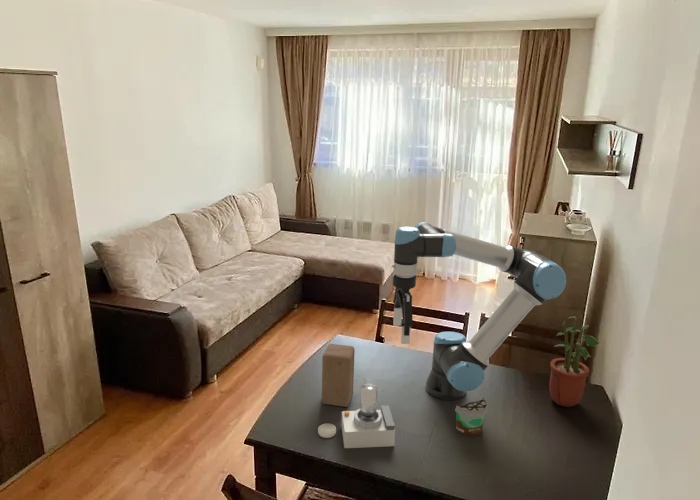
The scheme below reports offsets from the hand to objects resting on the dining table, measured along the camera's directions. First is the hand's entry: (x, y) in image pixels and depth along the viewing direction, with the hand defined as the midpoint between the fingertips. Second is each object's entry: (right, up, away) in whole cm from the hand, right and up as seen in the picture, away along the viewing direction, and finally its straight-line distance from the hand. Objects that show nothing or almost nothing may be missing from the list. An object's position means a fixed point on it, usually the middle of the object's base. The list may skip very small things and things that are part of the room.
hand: (401, 334), depth 168 cm
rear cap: (-25, -32, -2) cm, 41 cm away
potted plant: (+63, -28, +20) cm, 72 cm away
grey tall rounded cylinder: (-11, -27, -6) cm, 30 cm away
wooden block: (-22, -27, +16) cm, 38 cm away
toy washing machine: (-12, -33, -4) cm, 35 cm away
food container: (+24, -33, 0) cm, 41 cm away
